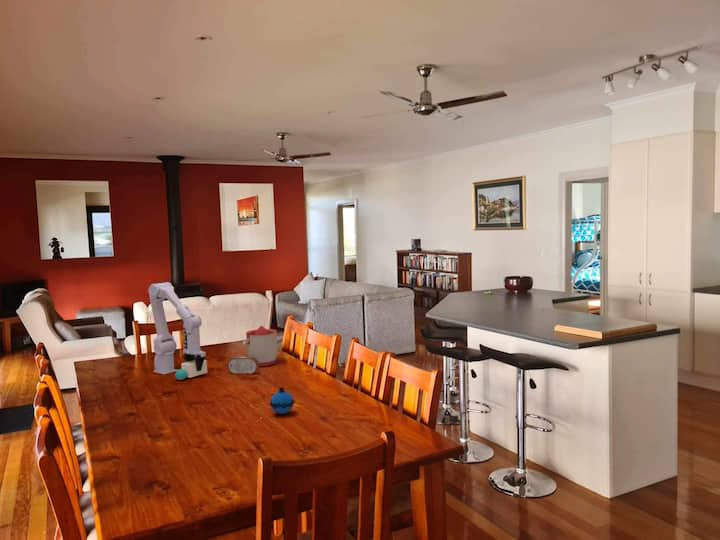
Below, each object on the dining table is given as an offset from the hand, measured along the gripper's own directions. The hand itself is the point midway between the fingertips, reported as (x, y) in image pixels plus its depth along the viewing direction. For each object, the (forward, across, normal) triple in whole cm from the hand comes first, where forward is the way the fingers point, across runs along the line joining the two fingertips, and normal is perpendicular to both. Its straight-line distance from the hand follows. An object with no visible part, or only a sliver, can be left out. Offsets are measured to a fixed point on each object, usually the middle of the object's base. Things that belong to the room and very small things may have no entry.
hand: (194, 369), depth 253 cm
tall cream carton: (+2, 0, 0) cm, 2 cm away
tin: (+3, +17, +15) cm, 23 cm away
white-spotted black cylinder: (+3, -31, +21) cm, 38 cm away
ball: (0, 0, -8) cm, 8 cm away
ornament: (+3, +73, -15) cm, 75 cm away
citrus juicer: (+3, +11, +32) cm, 34 cm away
